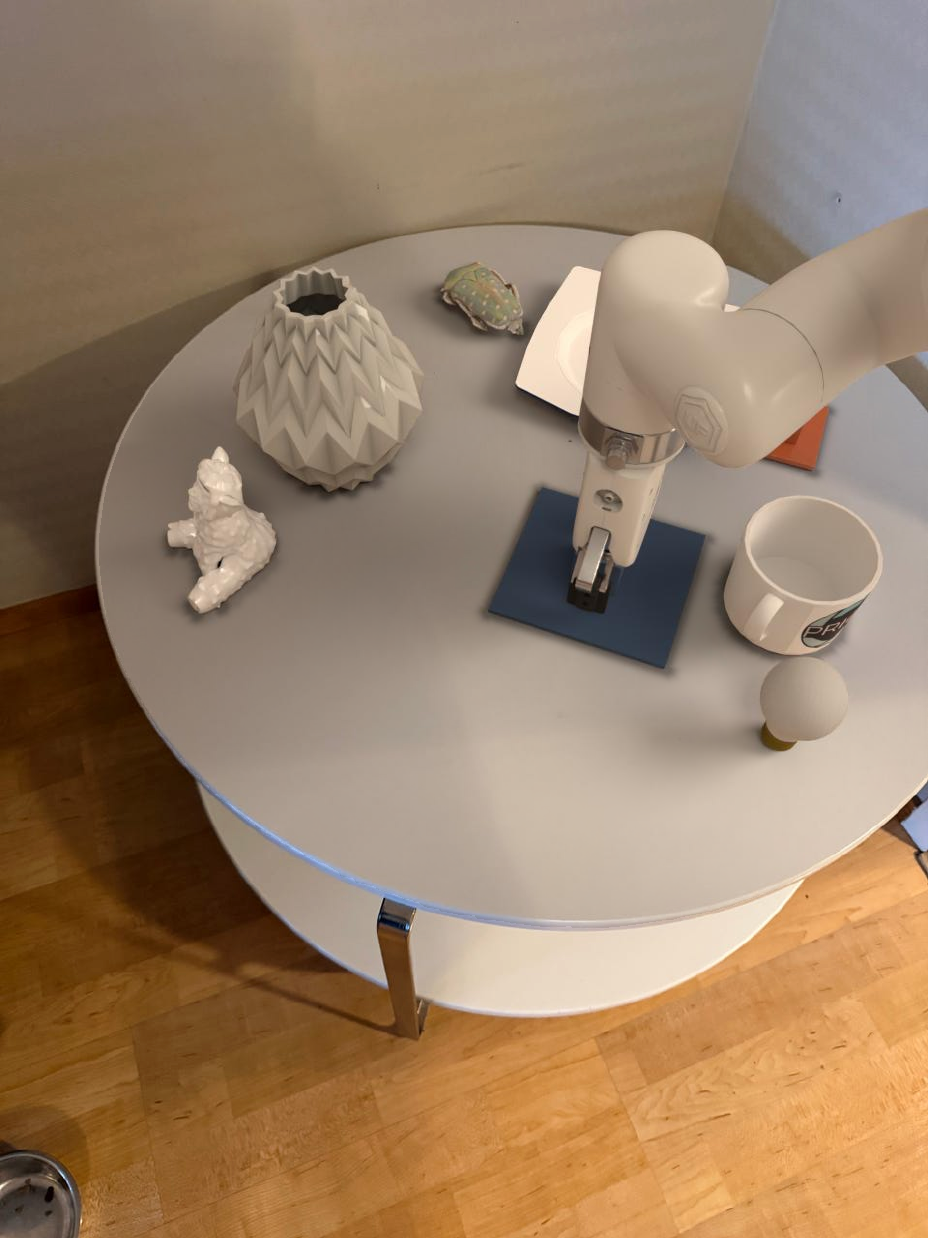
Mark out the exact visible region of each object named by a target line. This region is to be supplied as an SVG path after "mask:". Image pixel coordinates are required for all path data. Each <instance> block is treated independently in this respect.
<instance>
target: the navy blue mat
mask: <svg viewBox="0 0 928 1238" xmlns="http://www.w3.org/2000/svg"><path fill="white" fill-rule="evenodd" d="M578 501H579V497H577V496H574V495H571V494H568V493H563V492H560V491H557V490H554V489H550V488H546V487H543V486H542V487H541V488H540V490H539V492H538V495H537V498H536V499H535V502H534V504H533V507H532V509H531V511H530V514H529V516H528V518H527V520H526V522H525V525H524V527H523V529H522V532H521V534H520V536H519V539H518V541H517V543H516V546H515V547H514V550H513V552H512V554H511V557H510V559H509V561H508V564H507V566H506V568H505V570H504V572H503V575H502V578H501V580H500V583H499V585H498V586H497V589H496V592H495V593H494V596H493V598H492V601H491V603H490V605H489V607H488V613H490V614H494V615H498V616H500V617H503V618H506V619H510V620H512V621H516V622H518V623H522V624H524V625H528V626H531V627H534V628H538V629H540V630H543V631H546V632H550V633H552V634H556V635H559V636H562V637H565V638H568V639H571V640H574V641H577V642H580V643H584V644H587V645H590V646H593V647H596V648H599V649H602V650H605V651H608V652H611V653H614V654H617V655H620V656H624V657H626V658H629V659H633V660H636V661H639V662H642V663H646V664H648V665H651V666H655V667H658V668H660V669H666V665H667V663H668V660H669V659H668V658H669V656H670V652H671V650H672V646H673V643H674V639H675V636H676V633H677V630H678V626H679V623H680V620H681V617H682V613H683V610H684V606H685V604H686V601H687V597H688V593H689V590H690V587H691V584H692V581H693V578H694V574H695V571H696V568H697V565H698V562H699V557H700V554H701V552H702V548H703V546H704V542H705V538H706V535H705V534H703V533H700V532H697V531H693V530H689V529H686V528H682V527H679V526H677V525H673V524H669V523H666V522H662V521H660V520H655V519H652V518H650V521H649V524H648V526H647V529H646V532H645V535H644V538H643V540H642V543H641V546H640V549H639V551H638V554H637V557H636V559H635V561H634V563H633V564H631V565H630V566H628V567H625V569H624V572H623V575H622V578H621V581H620V583H619V586H618V589H617V592H616V595H615V596H614V595H611V594H610V595H609V599H608V603H607V607H606V610H605V613H603V614H600V613H597V612H593V611H591V612H587V611H584V610H581V609H579V608H577V607H576V606H574V605H571V604H569V603H568V602H567V595H568V589H569V583H570V575H571V570H572V564H573V558H574V553H575V551H576V550H575V549H574V546H573V532H574V525H575V519H576V513H577V507H578Z"/></svg>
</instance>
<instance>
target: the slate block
mask: <svg viewBox="0 0 928 1238" xmlns="http://www.w3.org/2000/svg"><path fill="white" fill-rule="evenodd" d="M589 541H590V539H589ZM609 543H610V541H609V540H608V543H607V546H606V549H608V550H609ZM588 544H589V542H588ZM579 551H580V550H579ZM578 555H579V552H577V551H575V553H574V558H573V564H572V570H571V573H572V571H573V570H574V568H575V565H576V561H577V558H578ZM606 564H607V560H604V559H602V561H601V564H600V567H599V570H598V573H599V574H602V575H603V574H604V570H605V567H606ZM624 569H625V567H624V566H619V565H616V564H614V567H613V570H612V573H611V577H610V581H611V582H613V583H612V587H611V591H610V594H611V595H614V596H615V595H616V592H617V589H618V586H619V583H620V581H621V578H622V575H623V572H624ZM570 577H571V575H570Z"/></svg>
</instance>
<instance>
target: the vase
mask: <svg viewBox="0 0 928 1238" xmlns="http://www.w3.org/2000/svg"><path fill="white" fill-rule="evenodd" d="M425 380H426V376H425V374H424V372H423V371H422V370H421V367H420V366H419V364H418V362H417V361H416V359H415V358H414V356H413V355H412V353H411V351H410V350H409V348H408V346H407V344H406V342H405V341H403V340H402V339H400V338H398V337H397V336H396V335H395V334H394V333H393V332H391V330H390V327H389V325H388V324H387V322H386V320H385V318H384V316H383V314H382V312H381V311H380V310H378V309H377V308H375V307H374V306H373V305H371V304H369V302H368V301H367V299H366V297H365V295H364V294H363V293H361V292H359V291H358V290H357V288H356V287H354V286H353V285H352V283H351V280H350V277H349V276H348V275H339V274H338V273H337V272H336V271H335V269H334V268H333V267H332V268H331V267H330V268H328V269H324V270H321V269H320V268H318V267H316V265H315V266H314V265H313V266H312V267H310V268H309V269H307V270H305V271H303V270H298V269H297V270H296V269H295V270H294V271H293V272H292V274H291V276H290V277H287V278H280V279H279V288H278V289H276V290H273V291H272V293H271V297H270V298H269V299H268V301H267V305H266V308H265V310H264V311H263V312H262V313H261V314H260V316H258V317H257V319H256V323H255V327H254V332H253V335H252V339H251V343H250V347H249V348H248V349H247V350H246V351H245V354H244V356H243V358H242V361H241V364H240V366H239V368H238V372H237V374H236V377H235V379H234V382H233V384H232V391H233V392H234V395H235V396H236V398H237V406H236V416H235V423H236V424H237V425H238V426H239V427H240V428H241V429H242V430H243V431H244V433H245V434H247V435H248V436H249V438H250V439H252V441H253V442H254V443H256V445H258V447H259V448H261V450H262V452H264V453H265V454H267V455H269V456H270V457H271V458H272V459H273V460H274V461H275V462H276V463H277V464H278V465H279V466H280V467H281V468H282V470H283V471H284V472H286V473H288V474H290V475H291V476H293V477H295V478H296V479H298V480H300V481H301V482H304V483H305V484H307V486H314V485H317V486H318V485H320V486H321V487H322V488H324V489H325V490H326V491H327V492H328V493H330V492H332V491H335V490H336V489H339V488H343V489H346V490H349V491H354V489H355V488H356V487H358V485H359V484H360V483H362V482H363V483H365V482H373V481H374V477H375V474H376V473H377V472H379V471H380V470H381V469H382V468H384V467H385V466H386V465H388V464H390V463H391V461H392V460H393V459H394V457H395V456H396V454H397V453H398V451H399V450H400V448H401V447H402V445H404V443H405V441H406V439H407V437H408V434H409V433H410V432H411V431H412V428H413V427H414V425H415V424H416V422H417V421H418V419H419V418H420V417H421V414H422V413H423V408H422V405H421V401H420V397H421V396H420V395H421V392H422V389H423V386H424V383H425Z"/></svg>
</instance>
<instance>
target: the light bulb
mask: <svg viewBox="0 0 928 1238" xmlns="http://www.w3.org/2000/svg"><path fill="white" fill-rule="evenodd" d="M849 703H850V697H849V691H848V686H847V684H846V682H845V680H844V678H843V677H842V675H841V673H840V672H839V671H838V670H837V669H836V668H835V667H834V666H832V665H831V664H830V663H828V662H826V661H824V660H823V659H819V658H816V657H811V656H794V657H790V658H787V659H785V660H782V661H780V662H778V663H777V664H776V665H775V666H773V667H772V668H771V669H770V670H769V671H768V673H767V674H766V676H765V677H764V679H763V681H762V683H761V686H760V690H759V705H760V706H759V707H760V709H761V712H762V715H763V717H764V720H765V721H764V723H763V725H762V726H761V729H760V737H761V740H762V741H763V743H764V744H765V745H766V747H768V749H771V750H773V751H776V752H786V751H789V750H791V749H792V748H793V747H794V746H795V745H796V744H797V743H798V742H801V741H802V742H810V741H817V740H820V739H823V738H825V737H827V736H829V735H831V734H832V733H834V731H836V730H837V729H838V728H839V727H840V726H841V724H842V723H843V722H844V720H845V718H846V716H847V712H848V710H849Z"/></svg>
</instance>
